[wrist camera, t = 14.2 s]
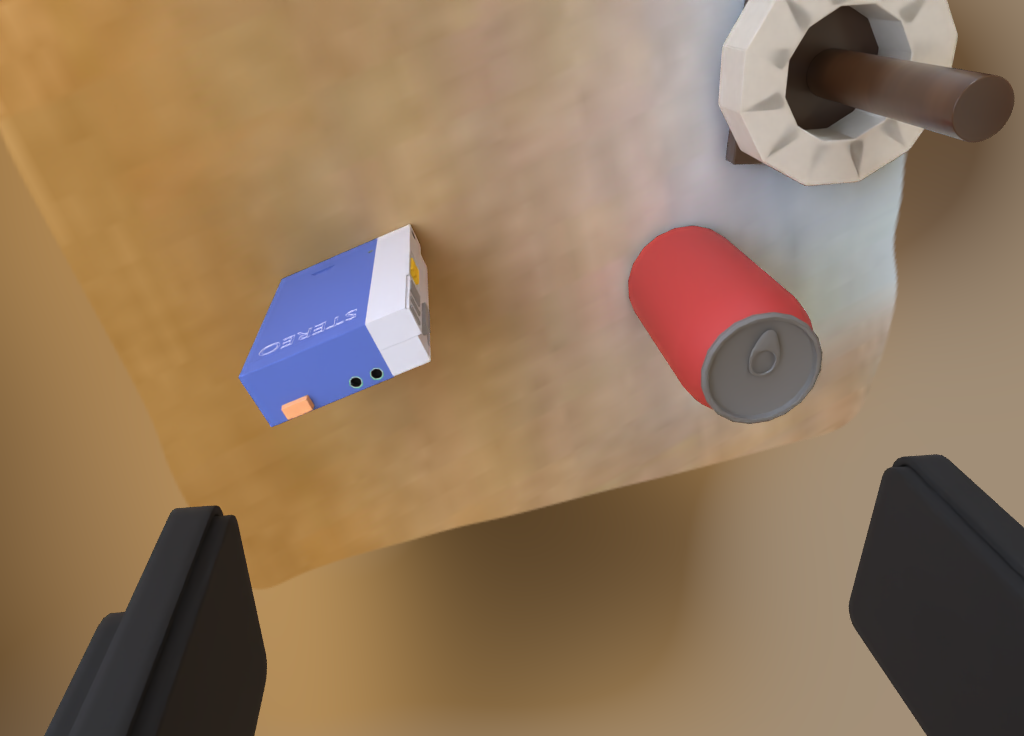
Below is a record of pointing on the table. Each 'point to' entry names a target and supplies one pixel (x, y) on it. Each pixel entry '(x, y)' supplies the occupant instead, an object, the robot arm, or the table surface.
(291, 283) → the walkman
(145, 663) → the robot arm
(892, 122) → the tape roll
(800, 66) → the spindle
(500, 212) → the table surface
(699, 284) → the beer can
